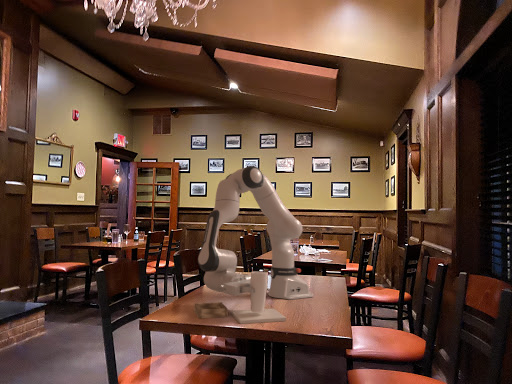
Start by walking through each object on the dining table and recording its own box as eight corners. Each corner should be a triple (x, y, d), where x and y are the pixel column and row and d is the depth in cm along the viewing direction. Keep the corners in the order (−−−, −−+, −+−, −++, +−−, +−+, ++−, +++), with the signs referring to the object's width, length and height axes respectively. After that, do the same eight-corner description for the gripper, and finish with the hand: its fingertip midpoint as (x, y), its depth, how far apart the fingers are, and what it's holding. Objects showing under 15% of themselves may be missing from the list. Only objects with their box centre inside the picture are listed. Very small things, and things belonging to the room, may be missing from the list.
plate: (273, 311, 155) (273, 308, 155) (286, 320, 141) (286, 317, 141) (231, 313, 149) (231, 310, 149) (240, 324, 136) (240, 320, 136)
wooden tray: (221, 309, 156) (221, 302, 156) (227, 316, 145) (227, 308, 145) (194, 311, 153) (194, 303, 153) (198, 318, 142) (198, 310, 142)
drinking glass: (248, 309, 148) (250, 271, 150) (265, 309, 149) (266, 271, 150) (249, 313, 142) (251, 273, 143) (267, 313, 142) (268, 274, 143)
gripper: (216, 279, 147) (242, 284, 138) (250, 273, 162) (276, 278, 153) (216, 295, 146) (241, 301, 137) (250, 288, 162) (275, 293, 153)
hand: (260, 289), depth 145 cm, fingers closed on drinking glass, 6 cm apart
